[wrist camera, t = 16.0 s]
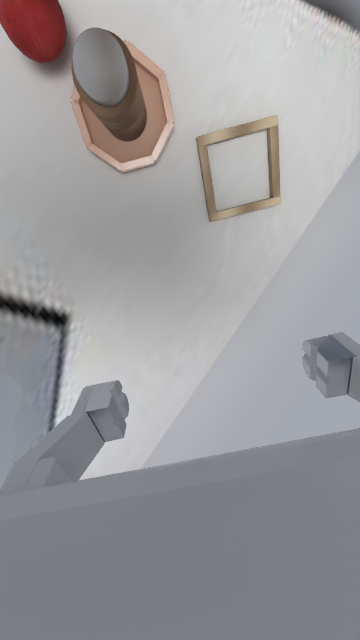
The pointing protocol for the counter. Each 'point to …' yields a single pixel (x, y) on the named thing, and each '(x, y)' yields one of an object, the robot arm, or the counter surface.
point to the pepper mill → (109, 83)
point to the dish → (157, 125)
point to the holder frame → (273, 158)
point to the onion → (34, 27)
